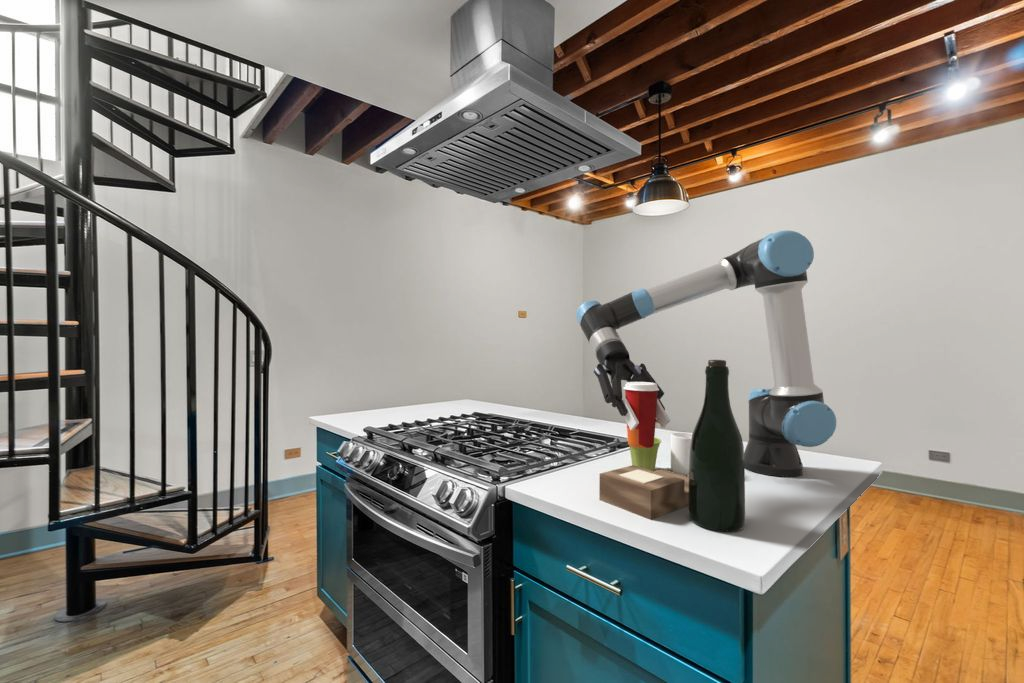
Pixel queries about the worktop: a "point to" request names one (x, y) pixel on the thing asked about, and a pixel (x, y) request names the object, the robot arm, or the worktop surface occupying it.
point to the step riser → (644, 490)
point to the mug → (680, 452)
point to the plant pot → (645, 455)
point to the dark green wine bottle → (717, 459)
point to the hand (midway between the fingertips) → (650, 425)
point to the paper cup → (642, 412)
